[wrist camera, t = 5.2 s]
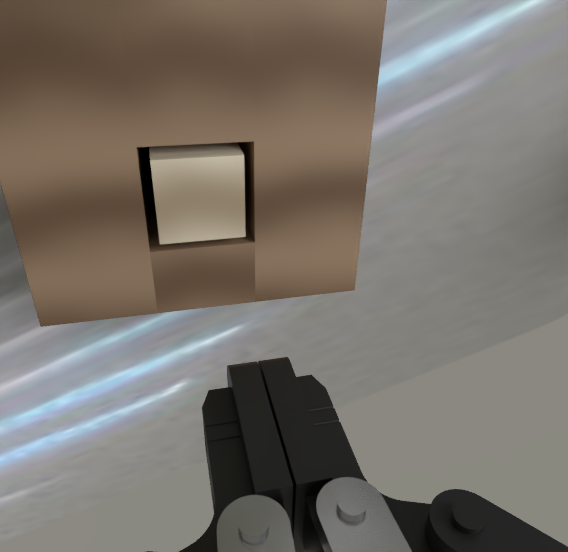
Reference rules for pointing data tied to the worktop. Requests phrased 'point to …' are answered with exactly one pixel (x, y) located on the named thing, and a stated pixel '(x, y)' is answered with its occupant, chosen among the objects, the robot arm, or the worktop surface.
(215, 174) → the birch peg
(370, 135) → the walnut block
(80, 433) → the worktop surface
